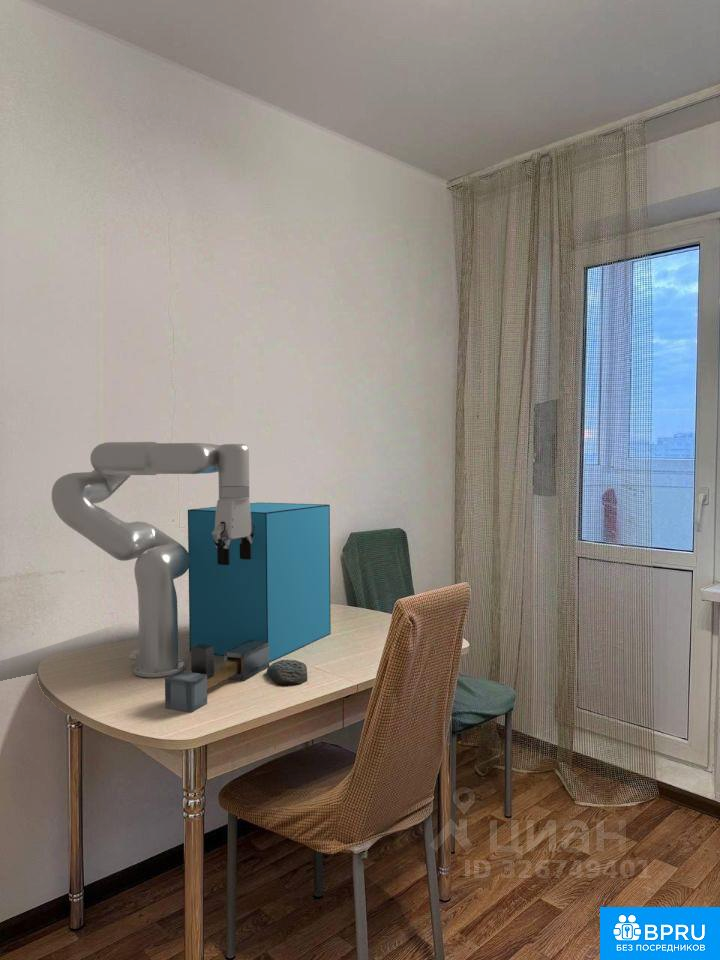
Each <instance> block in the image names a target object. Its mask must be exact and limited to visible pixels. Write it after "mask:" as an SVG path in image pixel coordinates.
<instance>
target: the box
mask: <svg viewBox="0 0 720 960" xmlns="http://www.w3.org/2000/svg"><path fill="white" fill-rule="evenodd" d="M216 507H217V506H213V507H211V506H210V507H200V508H193V509H187V545H188V546H187V547H188V550H187V552H188V554H189V556H190V566H189V568H188V615H189V618H188V619H189V621H188V622H189V626H188V628H189V629H188V630H189V651H190V652H191V647H193V646H195V645H198V644H204V645H212V646H214V656H218V657H224V652H226V651H228V650H230V649H232V648H234V647H236V646H238V645H241V644H243V643H245V642H247V641H249V640H256V641H265V642H269V664H270V663H273V662H274V661H278V659H281V658H283V657H285V656H287V655H290V654H291V653H293V652H296V651H297V650H300V649H302V648H304V647H306V646H309V645H310V644H313V643H315V642H317V641H319V640H321V639H323V638H326V637H327V636H329V635H331V634H332V633H331V632H332V631H331V626H332V625H331V537H330V536H331V528H330V527H331V526H330V525H331V523H330V521H331V519H330V518H331V517H330V516H331V515H330V514H331V512H330V511H331V510H330V504H323V503H322V504H321V503H319V504H317V503H313V504H312V503H290V502H289V503H286V502H285V503H283V502H250V510H251V523H252V524H254V525H255V530H254V536H253V538H252V540H253V542H252V544H251V557H252V558H251V559H250V560H248V559H240V543H241V541H240V539H235V540H231V541H230V544H229V546H228V549H230V564H229V565H218V563H217V548H216V544H215V543H214V538H213V535H212V532H213V531H214V530H215V515H216ZM223 541H224V540H223ZM224 543H225V541H224Z"/></svg>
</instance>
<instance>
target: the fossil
mask: <svg viewBox="0 0 720 960" xmlns="http://www.w3.org/2000/svg"><path fill="white" fill-rule="evenodd" d="M266 669H267V670H266V676H267V677H268V679H270V681H271V682H272V683H274V684H275V685H276V686H279V687H295V686H296V687H297V686H301V685H303V684H304V683H307V682H308V666H307V665H306V663H304V662H301V661H299V660H296V659H280V660H276V661H275V662H272V663H271V664H269V667H268V668H266Z"/></svg>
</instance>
